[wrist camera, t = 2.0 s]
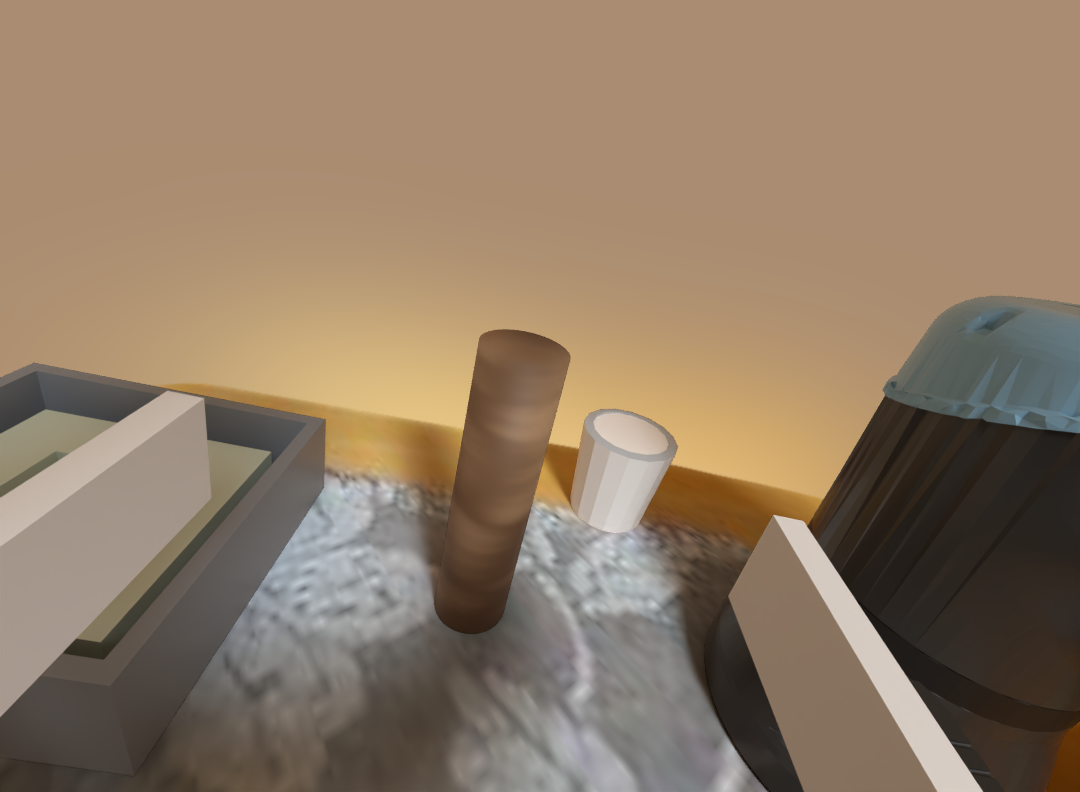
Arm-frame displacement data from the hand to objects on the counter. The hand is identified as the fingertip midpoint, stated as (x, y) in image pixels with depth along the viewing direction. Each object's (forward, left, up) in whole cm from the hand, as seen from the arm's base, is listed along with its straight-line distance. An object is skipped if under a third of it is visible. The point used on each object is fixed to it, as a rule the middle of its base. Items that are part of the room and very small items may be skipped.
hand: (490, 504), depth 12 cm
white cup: (-9, -22, -17) cm, 29 cm away
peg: (0, -11, -16) cm, 20 cm away
